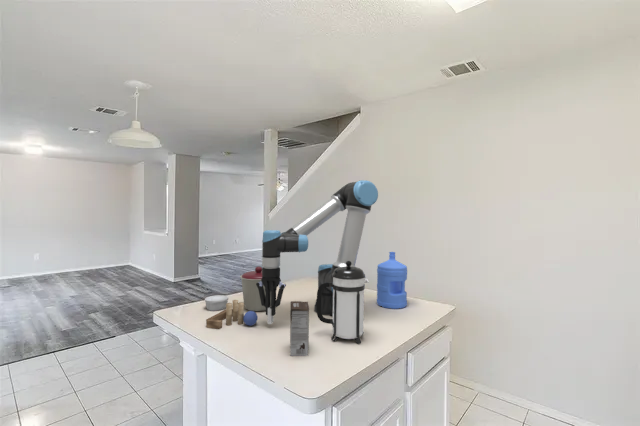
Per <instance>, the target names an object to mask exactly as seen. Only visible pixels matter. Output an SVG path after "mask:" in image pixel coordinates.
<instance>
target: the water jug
mask: <svg viewBox="0 0 640 426" xmlns="http://www.w3.org/2000/svg"><path fill="white" fill-rule="evenodd" d="M388 253H389V254H388V255H389V256H388V259H387V260H386V261H383V262H380V263H379V264H377V267H376V268H377V269H376V272H377V274H376V275H377V277H376V279H377V282H376V303H377V305H378V306H379V307H381V306H382V307H381V308H385V309H390V308H391V309H392V310H393V309H394V310H395V309H396V310H399V308H400V309H404V308H405V307H407V305H408V299H407V297H408V296H407V291H406V281H407V280H408V267H407V265H405V264H403V263H401V262H399V261H397V260H396V252H395V251H389V252H388Z"/></svg>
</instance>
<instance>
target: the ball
mask: <svg viewBox="0 0 640 426" xmlns="http://www.w3.org/2000/svg"><path fill="white" fill-rule="evenodd" d="M258 317H259V316H258V314H257V313H256V311H250V310H247V312H244V317H243V320H244V324H245V325H246V326H249V327H250V326H254V325H256V323H257V322H258Z"/></svg>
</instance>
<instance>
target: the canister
mask: <svg viewBox="0 0 640 426" xmlns="http://www.w3.org/2000/svg"><path fill="white" fill-rule="evenodd" d="M262 268H263V267H261V266H256V267H255V269H254V270H252V271H251V270H250V271H246V272H245V273H243V274H241V275H240V276H239V278H240V279H241V290H242V298H243V299H242V300H243V303H244V309H246V310H247V311H254V312H264V311H266V307H265V306H262V305H261V300H260V295H259V290H258V287H257V285H256V283H258V282H260V281H261V279H262ZM263 288H264V293H265V295H266V292H265V287H264V285H263ZM270 304H271V298H270Z"/></svg>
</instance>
